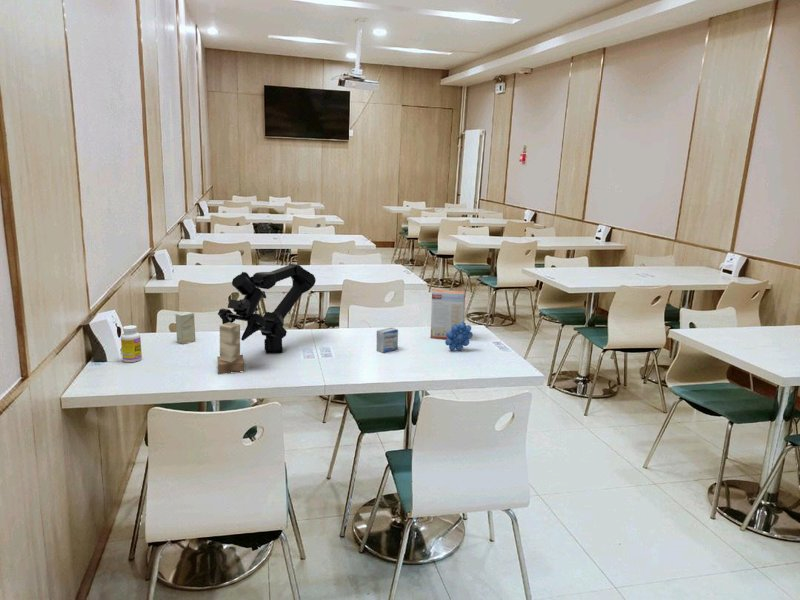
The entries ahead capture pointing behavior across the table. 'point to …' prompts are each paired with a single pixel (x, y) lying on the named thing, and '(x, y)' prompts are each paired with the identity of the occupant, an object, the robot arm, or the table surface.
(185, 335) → the skincare box
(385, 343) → the medicine box
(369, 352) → the table surface
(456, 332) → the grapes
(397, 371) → the table surface
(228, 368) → the walnut block
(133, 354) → the supplement bottle
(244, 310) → the robot arm
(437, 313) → the cracker box
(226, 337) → the oak post
